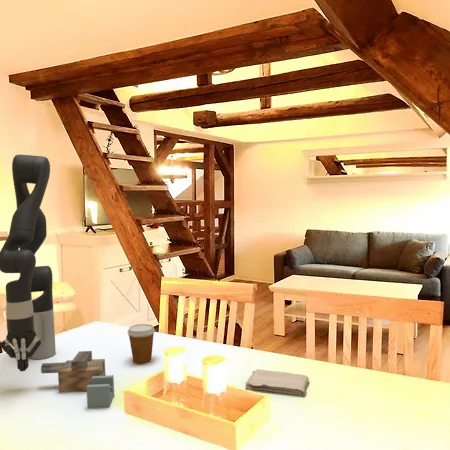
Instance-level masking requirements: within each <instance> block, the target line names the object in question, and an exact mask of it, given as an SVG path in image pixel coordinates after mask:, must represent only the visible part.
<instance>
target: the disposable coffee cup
mask: <svg viewBox="0 0 450 450" xmlns="http://www.w3.org/2000/svg"><path fill="white" fill-rule="evenodd" d="M155 331H156V330H155V328H154V325H153V324H149V323H138V324H134V325H131V326H129V327H128V329H127V334H128V335H127V336H128V338H129V343H130V350H131V356H132V362H133V363H134V364H138V365H143V364H144V365H145V364H148V363H150V362H151V361H152V358H153V357H152V355H153V344H154V335H155V334H154V333H155Z"/></svg>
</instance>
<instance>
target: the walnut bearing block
mask: <svg viewBox="0 0 450 450" xmlns="http://www.w3.org/2000/svg"><path fill="white" fill-rule="evenodd" d="M88 361H103V369H102V371H101V366H98V367H87V362H88ZM65 362H71V368H60V370H59V371H58V373H57V374H58V375H57V377H58V393H61V394H62V393H77V392H78V393H79V392H80V393H81V392H87V385H92V377H93V376H106V360H105V358H95V359H93V352H92V350H83V351H81V350H80V351H78V352H77V353H76V354H75V356H74V358H73V359H72V360H66V361H65Z"/></svg>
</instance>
